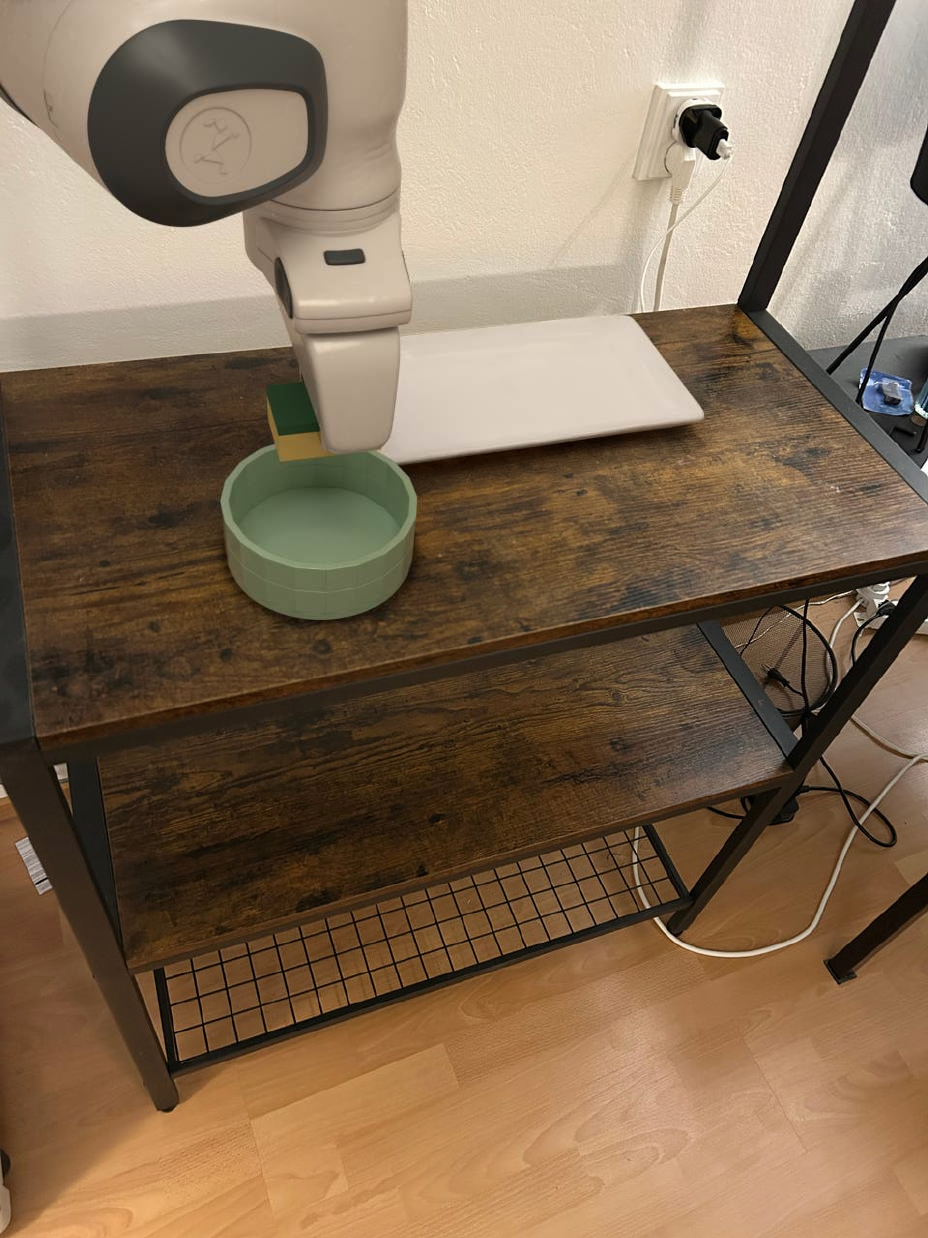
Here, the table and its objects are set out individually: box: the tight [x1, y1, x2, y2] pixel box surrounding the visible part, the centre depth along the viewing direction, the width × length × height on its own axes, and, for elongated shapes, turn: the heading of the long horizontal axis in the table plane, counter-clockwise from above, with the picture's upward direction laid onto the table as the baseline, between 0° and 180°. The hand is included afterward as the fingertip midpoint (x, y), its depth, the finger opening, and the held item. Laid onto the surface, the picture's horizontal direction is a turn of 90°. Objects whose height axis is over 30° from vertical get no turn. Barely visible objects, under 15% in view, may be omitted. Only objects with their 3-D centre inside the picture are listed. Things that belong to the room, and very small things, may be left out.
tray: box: [376, 314, 705, 466], centre depth 89 cm, size 17×32×4 cm, turn 110°
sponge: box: [265, 381, 382, 462], centre depth 66 cm, size 7×4×3 cm, turn 108°
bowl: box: [219, 443, 418, 621], centre depth 73 cm, size 14×14×6 cm
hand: (323, 417), depth 66 cm, fingers closed on sponge, 4 cm apart
